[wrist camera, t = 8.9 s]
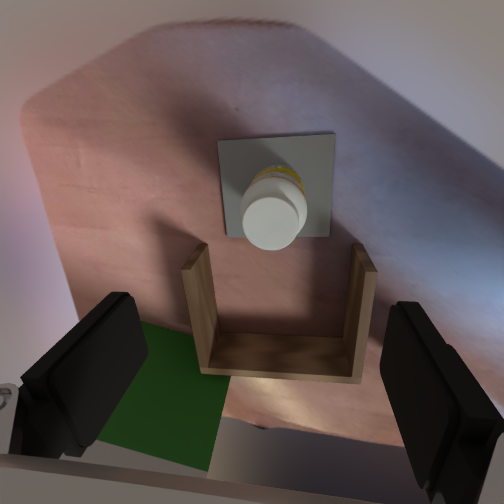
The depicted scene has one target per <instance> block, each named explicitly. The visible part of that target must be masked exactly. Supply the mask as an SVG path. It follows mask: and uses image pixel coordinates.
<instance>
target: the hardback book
mask: <svg viewBox="0 0 504 504" xmlns="http://www.w3.org/2000/svg"><path fill="white" fill-rule="evenodd" d="M141 325H142V328H143V332H144V335H145V339H146V342H147V346H148V356H147V358H146V360H145V362H144V363H143V365H142V366H141V368H140V370H139V371H138V373H137V374H136V376H135V378H134V379H133V381H132V382H131V384H130V386H129V387H128V389H127V390H126V392H125V394H124V395H123V397H122V399H121V400H120V402H119V403H118V405H117V407H116V408H115V410H114V411H113V413H112V415H111V416H110V418H109V419H108V421H107V423H106V424H105V426H104V427H103V429H102V431H101V432H100V434H99V435H98V437H97V439H96V440H95V442H94V443H93V444H92V445H91V446H89V447H87V449H86V450H85V452H84V454H83V455H82V457H81V458H79V457H72V456H65V454H64V452H63V454H62V455H61V457H60V458H59V459H62V460H69V461H77V462H85V463H92V464H100V465H108V466H115V467H123V468H131V469H139V470H146V471H153V472H161V473H168V474H176V475H183V476H190V477H198V478H205V479H206V477H207V473H208V469H209V465H210V460H211V456H212V452H213V448H214V444H215V440H216V436H217V431H218V427H219V423H220V419H221V415H222V411H223V407H224V403H225V398H226V394H227V390H228V386H229V382H230V378H231V376H229V375H214V374H201V371H200V366H199V361H198V356H197V351H196V346H195V341H194V336H191V335H188V334H184V333H181V332H177V331H173V330H170V329H166V328H163V327H159V326H156V325H152V324H149V323H145V322H142V321H141Z"/></svg>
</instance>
